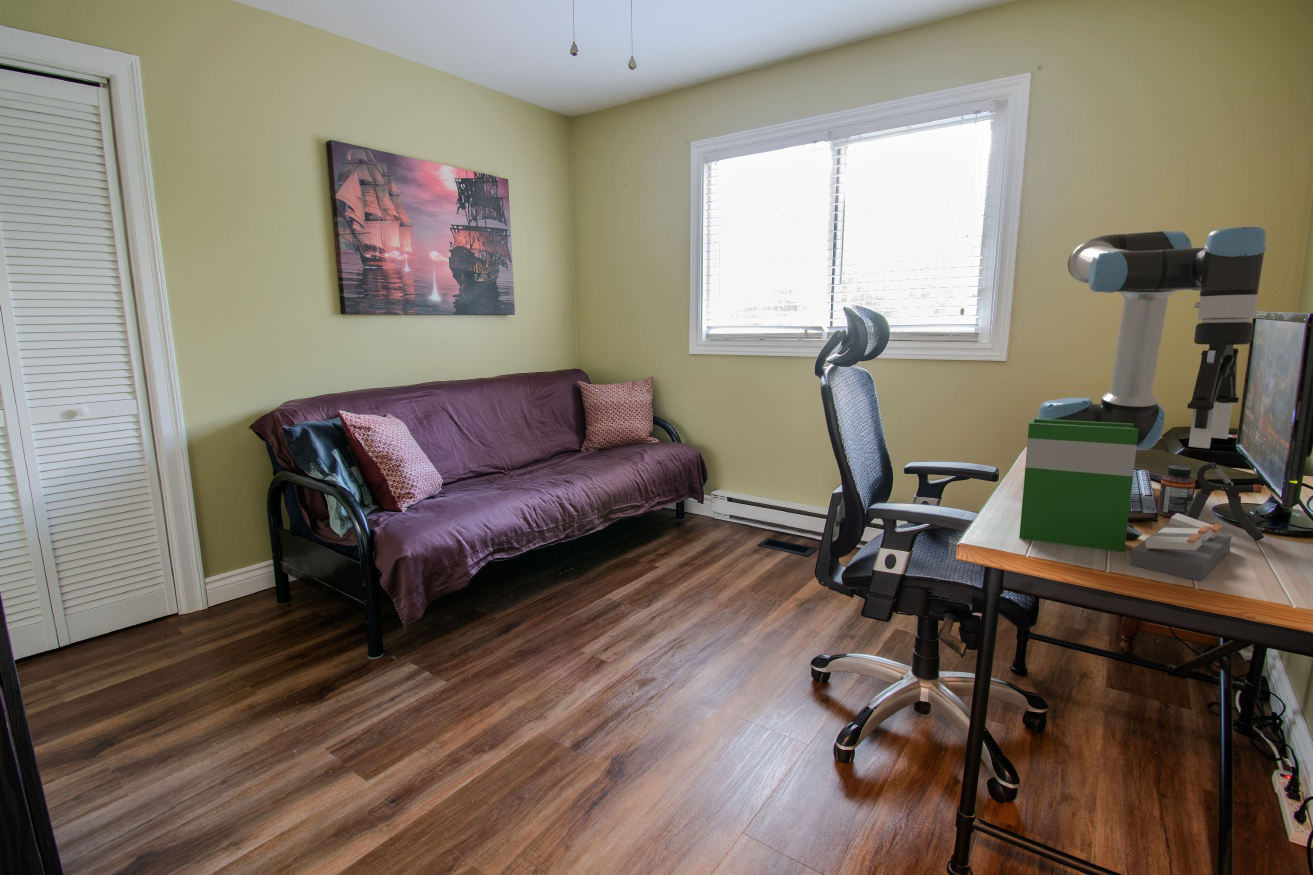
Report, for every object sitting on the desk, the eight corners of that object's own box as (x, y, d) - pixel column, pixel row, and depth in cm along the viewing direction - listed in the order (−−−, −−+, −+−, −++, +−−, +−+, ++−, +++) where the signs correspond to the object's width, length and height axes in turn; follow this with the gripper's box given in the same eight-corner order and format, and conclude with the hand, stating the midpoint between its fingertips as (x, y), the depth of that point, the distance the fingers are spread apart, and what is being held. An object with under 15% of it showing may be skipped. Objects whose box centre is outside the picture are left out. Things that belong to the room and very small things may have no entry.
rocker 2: (1175, 518, 127) (1178, 510, 127) (1218, 533, 122) (1222, 525, 122) (1168, 522, 124) (1172, 515, 124) (1213, 538, 119) (1217, 530, 119)
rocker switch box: (1171, 533, 133) (1173, 519, 132) (1235, 545, 125) (1237, 530, 125) (1130, 564, 116) (1132, 549, 116) (1200, 581, 109) (1203, 564, 108)
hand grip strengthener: (1263, 543, 126) (1275, 469, 123) (1181, 531, 134) (1190, 462, 131) (1262, 540, 128) (1273, 467, 125) (1181, 529, 135) (1190, 460, 133)
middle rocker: (1164, 533, 123) (1163, 525, 123) (1212, 535, 117) (1210, 526, 117) (1158, 538, 120) (1157, 529, 120) (1206, 540, 114) (1205, 531, 114)
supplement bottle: (1159, 510, 149) (1165, 463, 147) (1192, 515, 145) (1198, 466, 143) (1155, 516, 145) (1161, 467, 143) (1188, 521, 140) (1195, 471, 138)
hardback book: (1120, 540, 129) (1133, 423, 125) (1124, 552, 123) (1138, 429, 119) (1020, 528, 138) (1029, 418, 134) (1019, 538, 132) (1029, 423, 127)
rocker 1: (1153, 542, 118) (1152, 533, 118) (1201, 544, 112) (1200, 534, 112) (1146, 547, 115) (1144, 538, 115) (1195, 550, 110) (1194, 540, 110)
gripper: (1213, 321, 121) (1199, 432, 124) (1177, 322, 105) (1162, 448, 109) (1267, 320, 115) (1251, 436, 119) (1238, 321, 100) (1220, 454, 103)
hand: (1208, 442), depth 114 cm, fingers open, 13 cm apart
